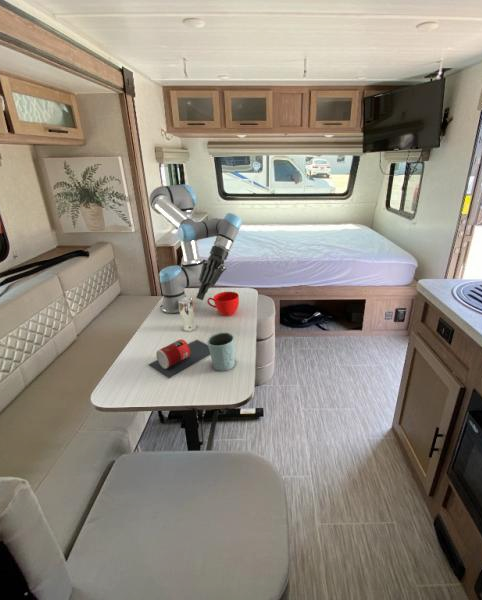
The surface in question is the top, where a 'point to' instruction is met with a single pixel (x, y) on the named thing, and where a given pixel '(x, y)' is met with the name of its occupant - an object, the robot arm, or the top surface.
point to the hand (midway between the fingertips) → (199, 299)
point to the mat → (196, 354)
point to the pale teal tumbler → (222, 351)
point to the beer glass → (187, 313)
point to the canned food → (173, 353)
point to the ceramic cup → (225, 302)
